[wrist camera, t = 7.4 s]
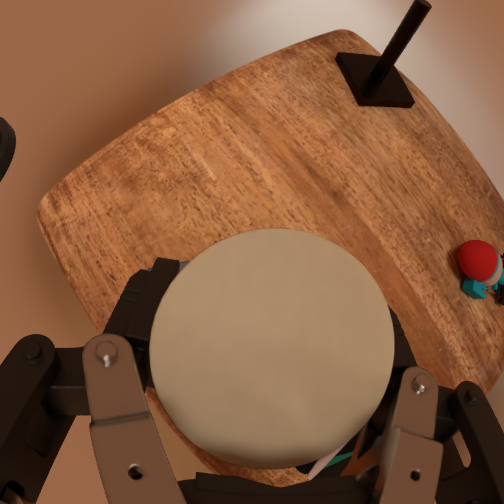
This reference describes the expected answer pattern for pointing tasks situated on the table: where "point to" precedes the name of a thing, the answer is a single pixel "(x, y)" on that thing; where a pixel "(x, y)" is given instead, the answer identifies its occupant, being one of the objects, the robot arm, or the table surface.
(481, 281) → the toy figure
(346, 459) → the toy car
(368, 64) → the hat stand
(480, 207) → the table surface
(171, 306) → the hat
